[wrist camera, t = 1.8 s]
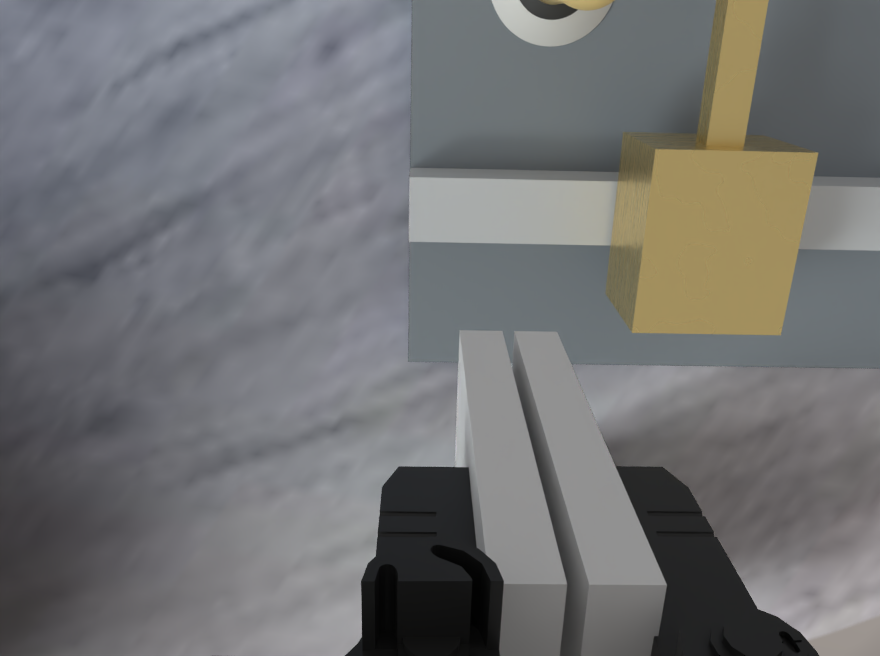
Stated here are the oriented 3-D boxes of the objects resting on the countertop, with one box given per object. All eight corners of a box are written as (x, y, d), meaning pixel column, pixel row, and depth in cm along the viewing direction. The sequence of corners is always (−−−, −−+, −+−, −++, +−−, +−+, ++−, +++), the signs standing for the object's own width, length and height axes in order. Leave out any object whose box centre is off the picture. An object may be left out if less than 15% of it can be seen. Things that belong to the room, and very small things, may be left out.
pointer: (596, 281, 30) (631, 332, 25) (634, -71, 26) (686, -95, 21) (720, 283, 30) (780, 335, 25) (779, -67, 26) (868, -89, 21)
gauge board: (408, 350, 33) (403, 455, 25) (413, -119, 27) (408, -182, 19) (987, 359, 34) (1164, 464, 26) (1132, -96, 27) (1432, -147, 19)
